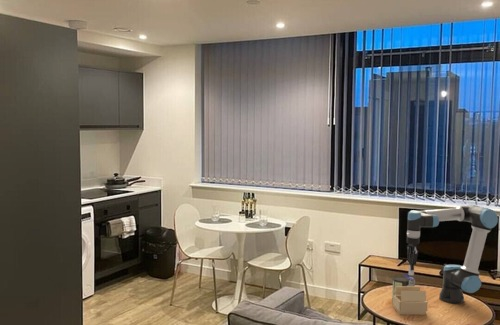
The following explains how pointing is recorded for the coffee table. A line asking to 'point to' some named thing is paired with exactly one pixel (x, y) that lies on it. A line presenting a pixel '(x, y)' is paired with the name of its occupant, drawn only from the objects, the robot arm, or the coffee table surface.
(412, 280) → the ink cartridge box
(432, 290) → the coffee table surface
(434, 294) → the coffee table surface
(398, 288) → the flap far
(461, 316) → the coffee table surface
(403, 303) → the carton
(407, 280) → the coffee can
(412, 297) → the flap near camera
